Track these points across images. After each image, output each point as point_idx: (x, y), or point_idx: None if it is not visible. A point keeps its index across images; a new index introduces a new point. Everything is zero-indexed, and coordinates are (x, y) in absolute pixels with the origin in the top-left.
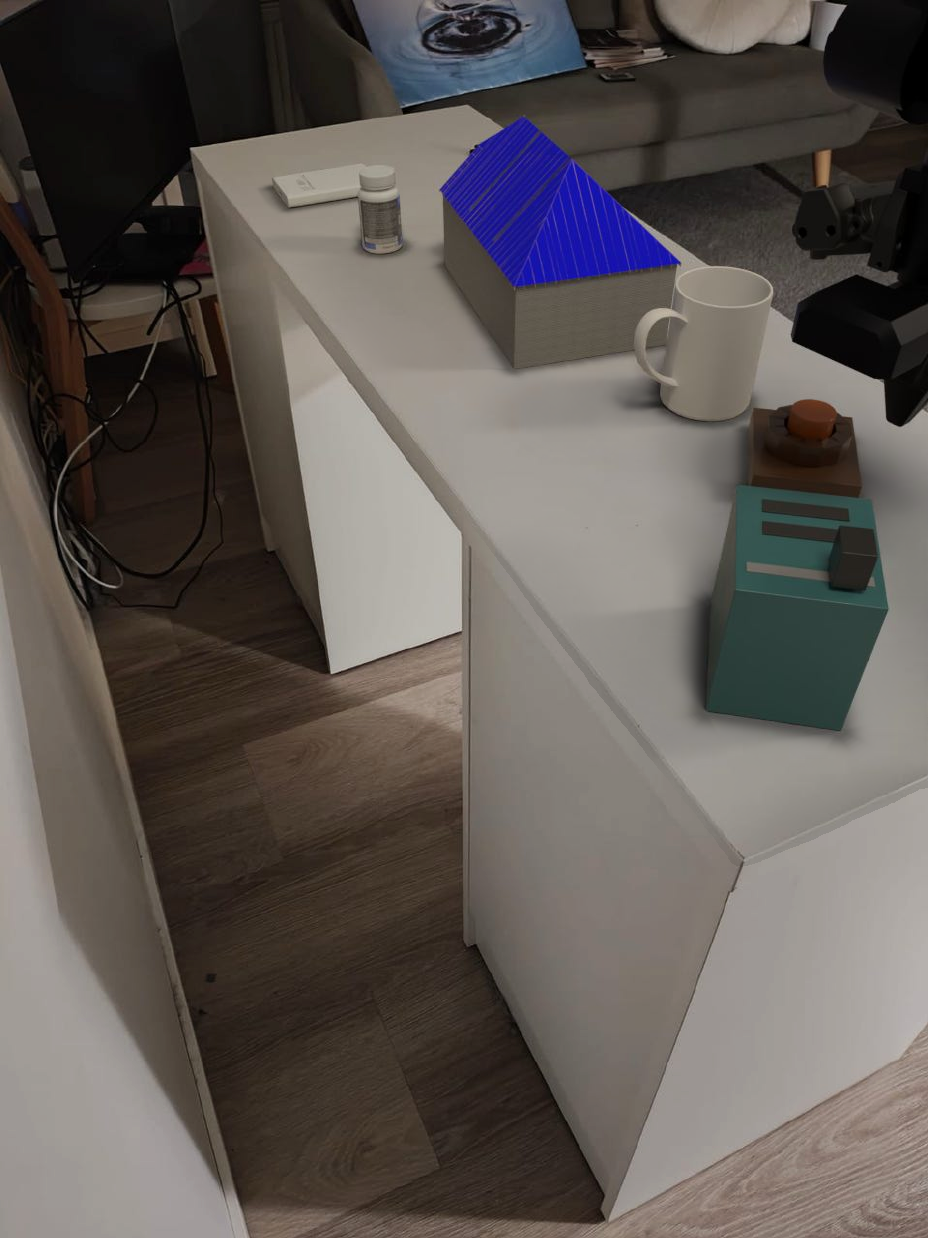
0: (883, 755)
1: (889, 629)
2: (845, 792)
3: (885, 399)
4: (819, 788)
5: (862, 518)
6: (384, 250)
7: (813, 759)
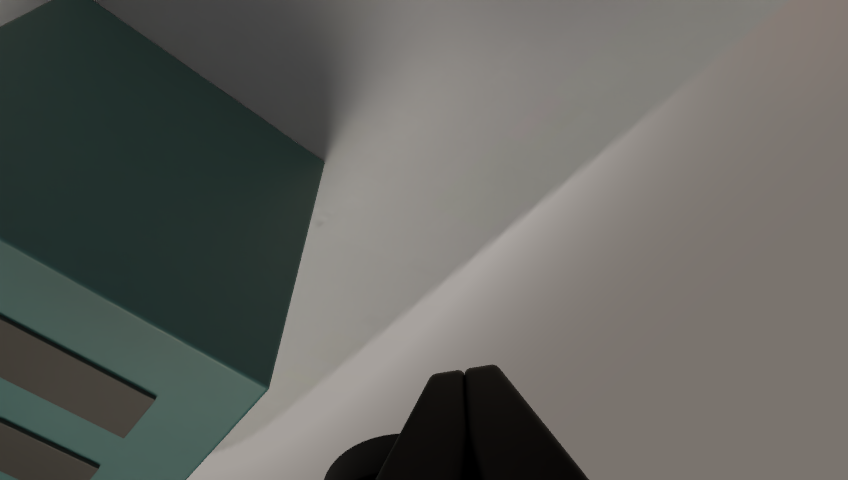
0: None
1: (420, 233)
2: None
3: (392, 452)
4: None
5: (177, 436)
6: None
7: None
